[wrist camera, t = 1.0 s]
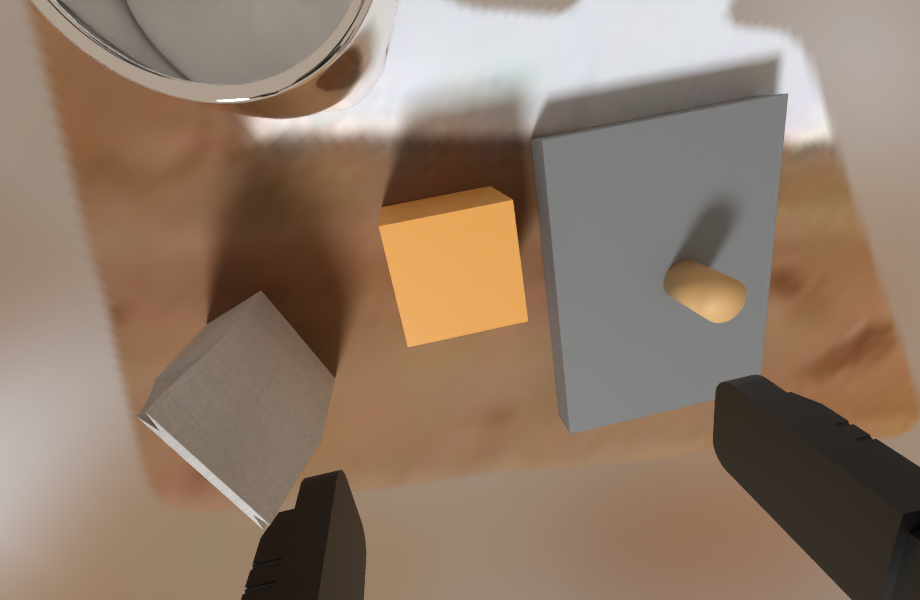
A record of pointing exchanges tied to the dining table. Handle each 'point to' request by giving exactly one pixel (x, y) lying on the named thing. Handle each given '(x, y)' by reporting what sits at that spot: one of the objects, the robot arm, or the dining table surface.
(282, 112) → the beer glass
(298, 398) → the grey cardboard box
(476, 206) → the matte orange cube
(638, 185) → the board
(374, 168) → the dining table surface
